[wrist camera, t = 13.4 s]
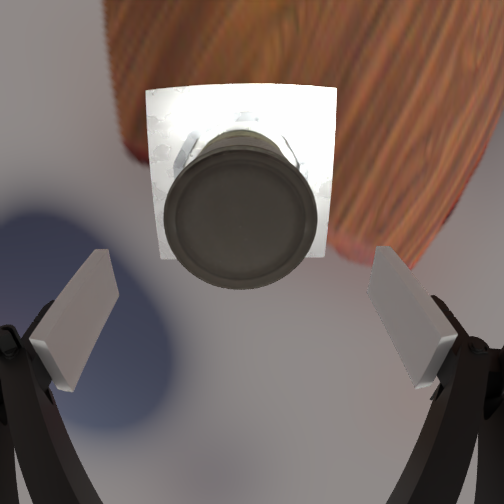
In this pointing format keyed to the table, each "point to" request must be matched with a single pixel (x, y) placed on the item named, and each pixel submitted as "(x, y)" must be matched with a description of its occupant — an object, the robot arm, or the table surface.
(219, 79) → the table surface
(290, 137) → the duct collar
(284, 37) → the table surface
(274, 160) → the coffee can
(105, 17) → the table surface
